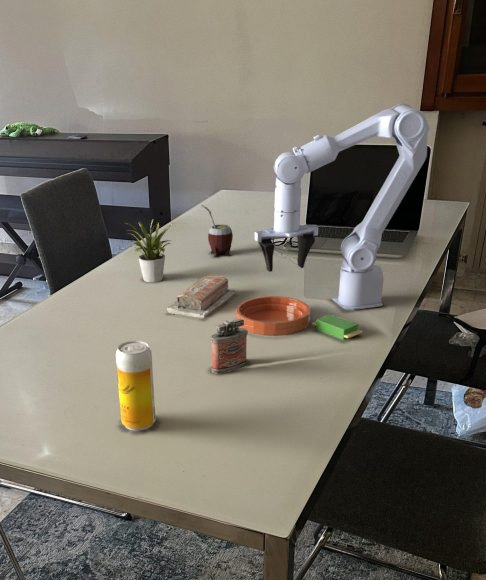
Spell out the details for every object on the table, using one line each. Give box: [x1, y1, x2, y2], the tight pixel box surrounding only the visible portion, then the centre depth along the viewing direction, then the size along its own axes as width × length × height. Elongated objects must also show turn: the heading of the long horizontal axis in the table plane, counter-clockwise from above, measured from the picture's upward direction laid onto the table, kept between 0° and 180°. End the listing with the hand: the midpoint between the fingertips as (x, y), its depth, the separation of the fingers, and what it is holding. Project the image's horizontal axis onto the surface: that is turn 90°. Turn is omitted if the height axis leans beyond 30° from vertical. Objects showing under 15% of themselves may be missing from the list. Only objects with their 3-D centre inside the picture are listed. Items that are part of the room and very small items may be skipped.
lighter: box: [210, 318, 249, 375], centre depth 147 cm, size 8×3×10 cm, turn 117°
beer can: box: [115, 340, 156, 432], centre depth 128 cm, size 6×6×15 cm
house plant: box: [125, 219, 175, 283], centre depth 195 cm, size 14×14×16 cm
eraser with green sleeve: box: [311, 313, 363, 341], centre depth 160 cm, size 4×10×3 cm, turn 35°
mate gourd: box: [200, 204, 234, 258], centre depth 210 cm, size 8×8×15 cm
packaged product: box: [166, 274, 237, 319], centre depth 179 cm, size 18×5×10 cm
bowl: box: [235, 295, 311, 336], centre depth 167 cm, size 16×16×4 cm
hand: (285, 268), depth 171 cm, fingers open, 7 cm apart
